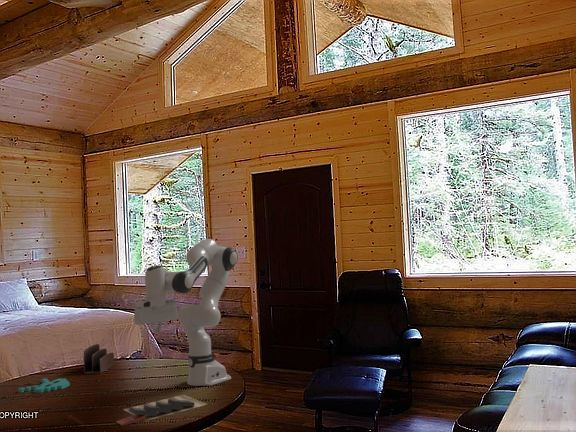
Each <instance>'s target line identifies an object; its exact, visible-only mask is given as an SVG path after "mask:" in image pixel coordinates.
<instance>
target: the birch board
mask: <svg viewBox="0 0 576 432" xmlns="http://www.w3.org/2000/svg"><path fill="white" fill-rule="evenodd" d="M168 399H176V400H187V401H191V402H193V403H195V404H194V407H190V406H183V409H182V410H177V409H171V413H164V412H157V416H148V415H145V416H146V419H145V420H143V422H148V421H150V420H155V419H158V418H163V417H166V416H171V415H174V414H177V413H181V412H184V411H188V410H189V411H190V410H192V409H196V408H201V407H203V406H206V405H208V403H206V402H204V401H201V400H198V399H195V398H194V397H190V396H188V395H185V394H181V395H176V396H172V397H168V398H165V399H164V398H163V399H160V400H159V399H158V400H156V401H152V402H148V403H144V404H140V405H136V406H132V407H133V408H141V409H143V408H144V405H153V406H156V402H165V403H168ZM129 409H130V407H127V408H123V409H122V410H123V411H125V412H127V413H129V414H131V415H135V414H133V413H131V412H129Z"/></svg>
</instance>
